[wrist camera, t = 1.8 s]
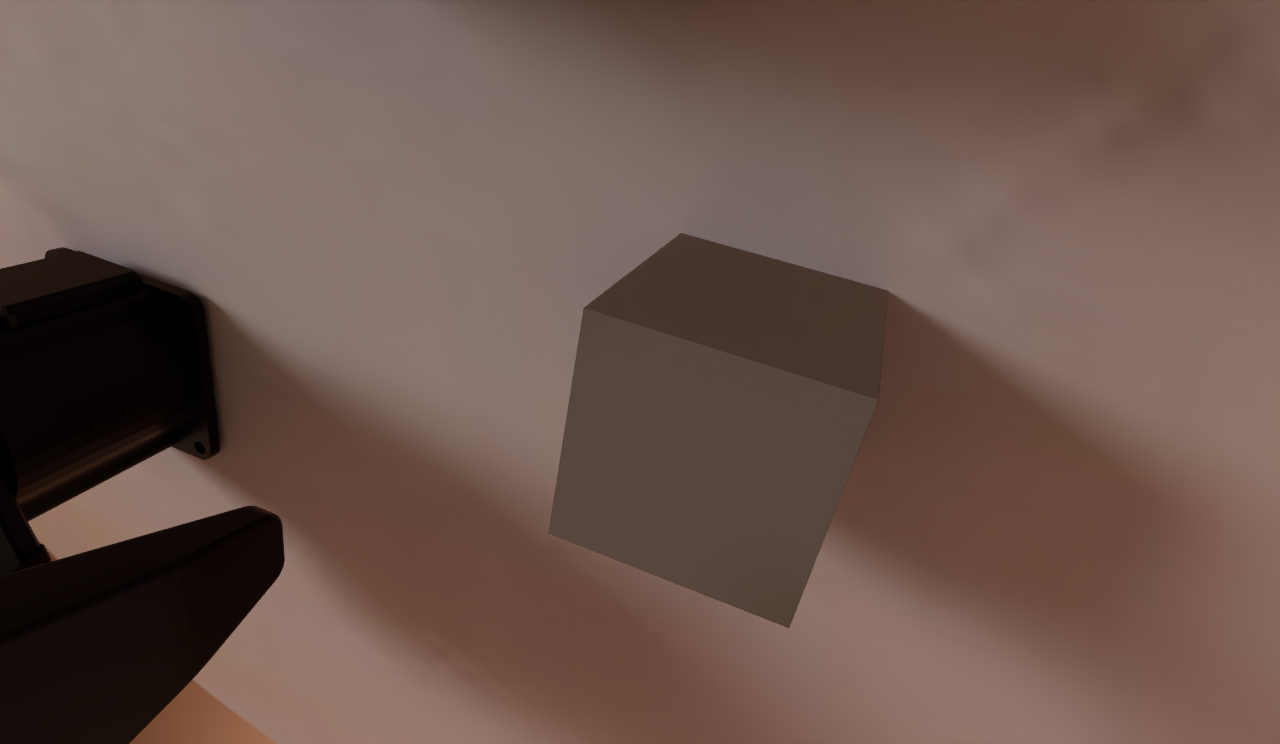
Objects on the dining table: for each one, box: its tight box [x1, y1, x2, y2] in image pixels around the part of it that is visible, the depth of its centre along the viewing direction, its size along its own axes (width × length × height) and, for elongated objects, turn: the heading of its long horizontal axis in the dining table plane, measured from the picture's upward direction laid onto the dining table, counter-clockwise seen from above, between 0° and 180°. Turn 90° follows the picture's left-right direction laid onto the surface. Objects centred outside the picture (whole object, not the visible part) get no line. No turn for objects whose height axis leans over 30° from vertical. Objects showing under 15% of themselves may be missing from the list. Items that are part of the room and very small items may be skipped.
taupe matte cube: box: [549, 233, 887, 628], centre depth 15 cm, size 5×5×6 cm
